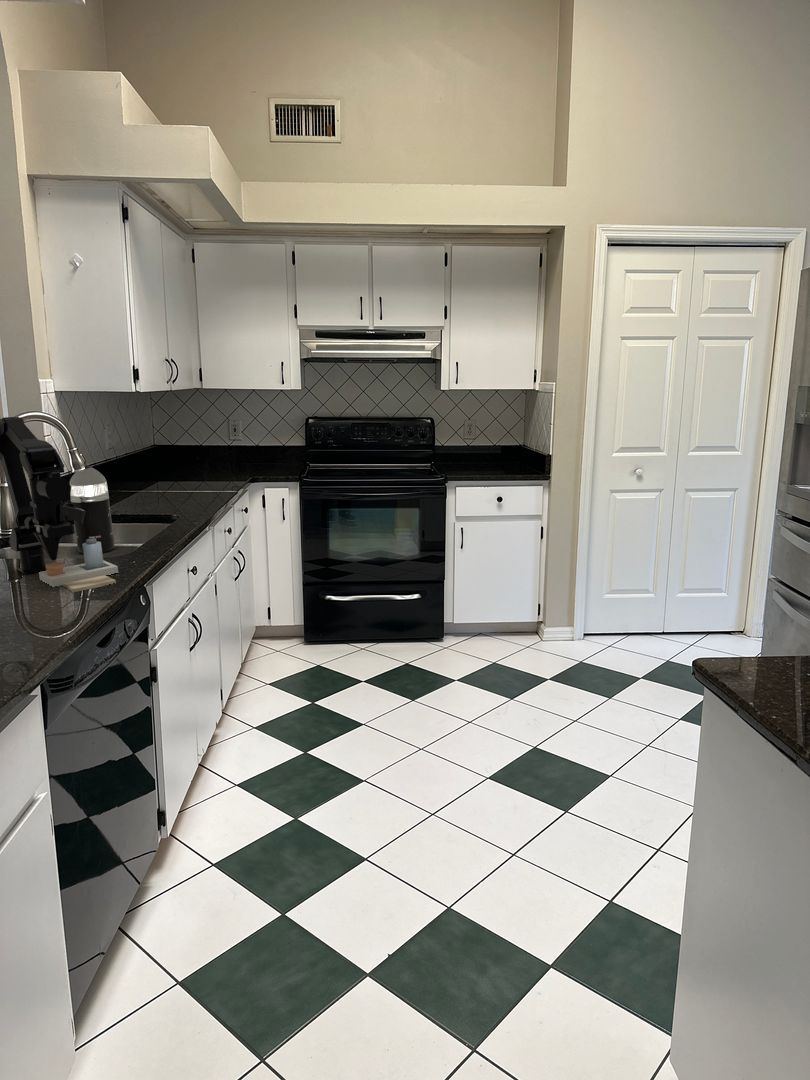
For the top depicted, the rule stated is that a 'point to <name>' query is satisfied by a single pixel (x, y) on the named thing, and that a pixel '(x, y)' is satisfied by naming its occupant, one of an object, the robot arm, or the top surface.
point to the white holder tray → (77, 574)
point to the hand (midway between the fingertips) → (53, 559)
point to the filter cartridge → (92, 554)
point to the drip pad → (89, 583)
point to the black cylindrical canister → (92, 508)
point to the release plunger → (55, 568)
